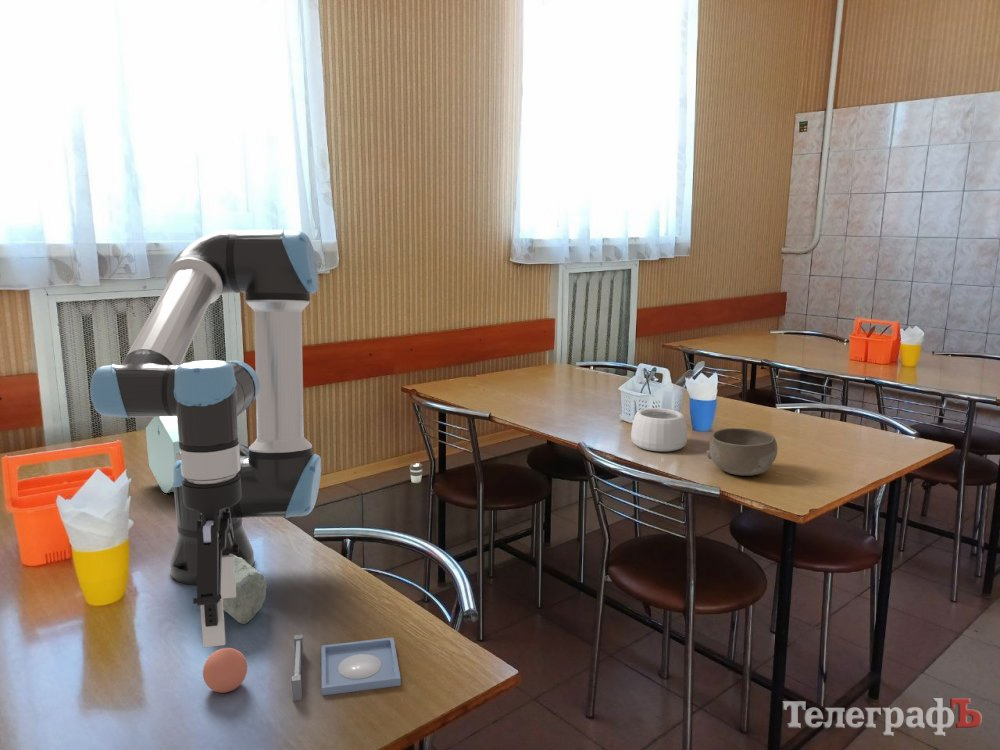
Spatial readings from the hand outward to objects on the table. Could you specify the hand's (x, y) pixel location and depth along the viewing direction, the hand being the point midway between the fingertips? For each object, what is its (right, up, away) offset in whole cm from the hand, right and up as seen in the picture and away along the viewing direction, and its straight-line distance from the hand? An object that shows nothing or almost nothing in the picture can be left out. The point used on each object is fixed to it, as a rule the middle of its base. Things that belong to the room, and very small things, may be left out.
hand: (220, 619), depth 107 cm
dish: (+18, -10, +8) cm, 22 cm away
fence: (+9, -10, +6) cm, 15 cm away
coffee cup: (+18, +6, +89) cm, 91 cm away
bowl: (+105, +8, +100) cm, 145 cm away
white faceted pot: (+87, +14, +125) cm, 153 cm away
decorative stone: (-6, -7, +22) cm, 24 cm away
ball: (0, -11, +3) cm, 11 cm away
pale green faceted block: (-40, +6, +81) cm, 91 cm away
